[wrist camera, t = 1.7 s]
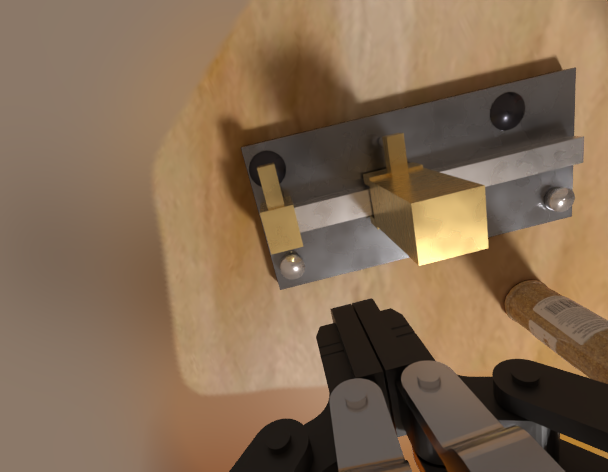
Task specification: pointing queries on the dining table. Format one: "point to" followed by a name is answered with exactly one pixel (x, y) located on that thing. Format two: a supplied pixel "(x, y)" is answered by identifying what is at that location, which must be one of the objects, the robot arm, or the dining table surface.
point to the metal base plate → (431, 154)
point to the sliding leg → (426, 207)
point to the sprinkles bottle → (562, 326)
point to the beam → (357, 202)
